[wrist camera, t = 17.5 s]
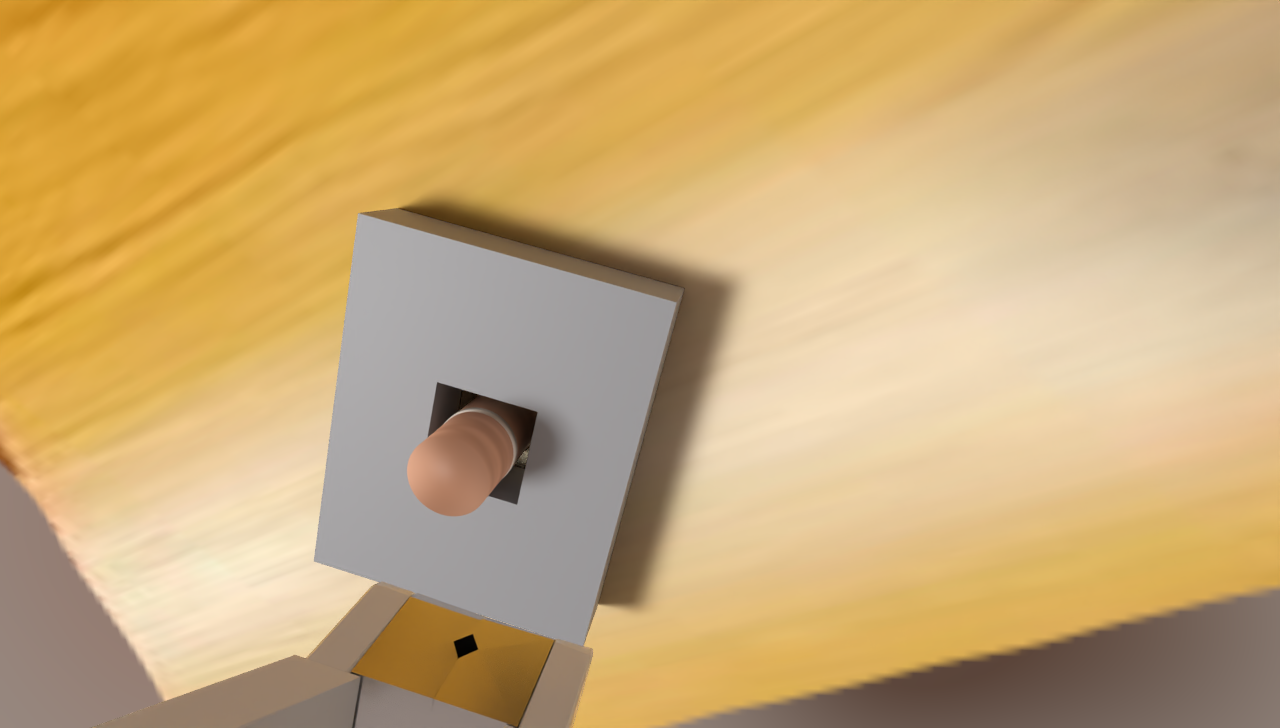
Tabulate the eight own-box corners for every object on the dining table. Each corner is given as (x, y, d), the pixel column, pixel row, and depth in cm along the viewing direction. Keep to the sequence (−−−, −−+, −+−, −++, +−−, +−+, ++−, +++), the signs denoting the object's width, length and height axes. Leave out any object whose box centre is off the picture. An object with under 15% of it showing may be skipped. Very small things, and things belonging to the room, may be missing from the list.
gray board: (684, 288, 37) (676, 302, 33) (597, 604, 43) (582, 647, 39) (397, 208, 38) (358, 213, 35) (351, 527, 44) (313, 561, 40)
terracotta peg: (547, 396, 40) (497, 451, 32) (532, 460, 41) (480, 528, 34) (478, 374, 40) (413, 424, 33) (465, 439, 41) (399, 501, 34)
